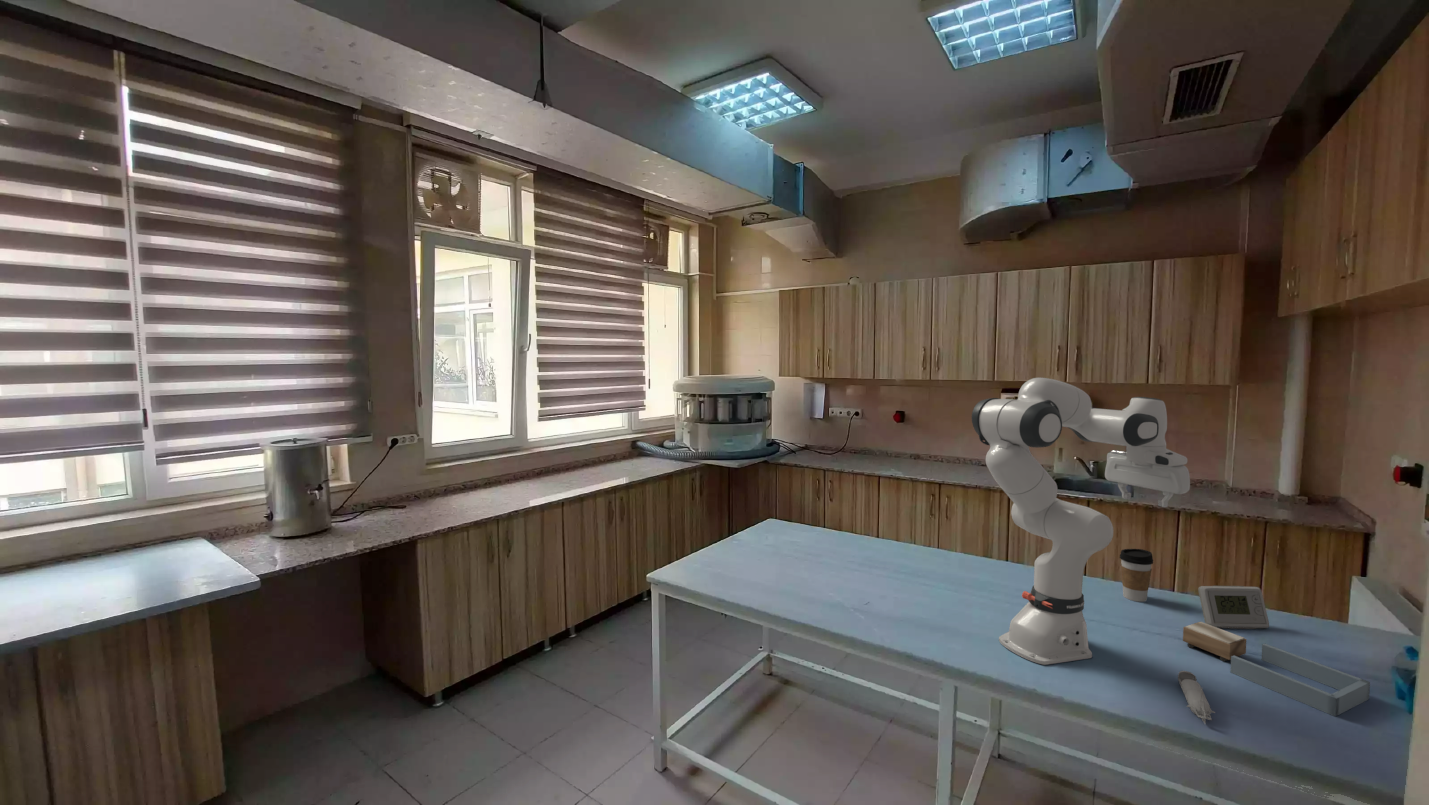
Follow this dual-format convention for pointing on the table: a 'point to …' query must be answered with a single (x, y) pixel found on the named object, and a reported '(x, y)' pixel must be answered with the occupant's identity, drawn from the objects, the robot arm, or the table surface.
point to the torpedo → (1194, 695)
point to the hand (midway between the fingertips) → (1144, 502)
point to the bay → (1333, 704)
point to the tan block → (1214, 640)
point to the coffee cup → (1136, 573)
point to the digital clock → (1233, 607)
